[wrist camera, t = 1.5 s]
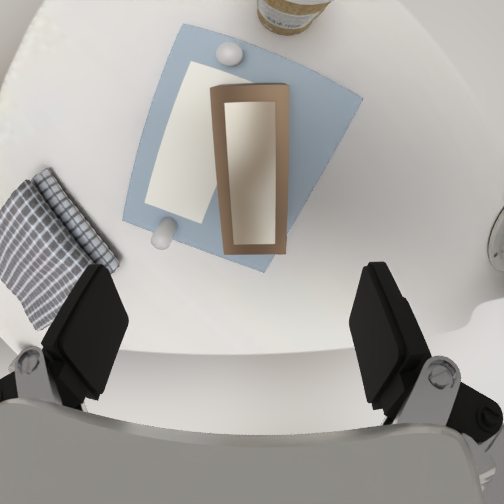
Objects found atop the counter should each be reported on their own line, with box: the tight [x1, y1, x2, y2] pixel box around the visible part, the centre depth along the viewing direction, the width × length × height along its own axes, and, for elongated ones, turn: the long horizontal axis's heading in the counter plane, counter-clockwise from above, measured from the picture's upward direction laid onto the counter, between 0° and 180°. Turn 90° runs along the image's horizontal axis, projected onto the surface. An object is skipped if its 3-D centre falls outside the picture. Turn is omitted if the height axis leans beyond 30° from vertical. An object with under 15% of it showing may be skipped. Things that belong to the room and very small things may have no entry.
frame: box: [210, 83, 289, 255], centre depth 22 cm, size 5×13×5 cm, turn 2°
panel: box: [122, 24, 363, 273], centre depth 23 cm, size 16×20×4 cm
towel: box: [0, 168, 119, 331], centre depth 28 cm, size 15×18×8 cm
